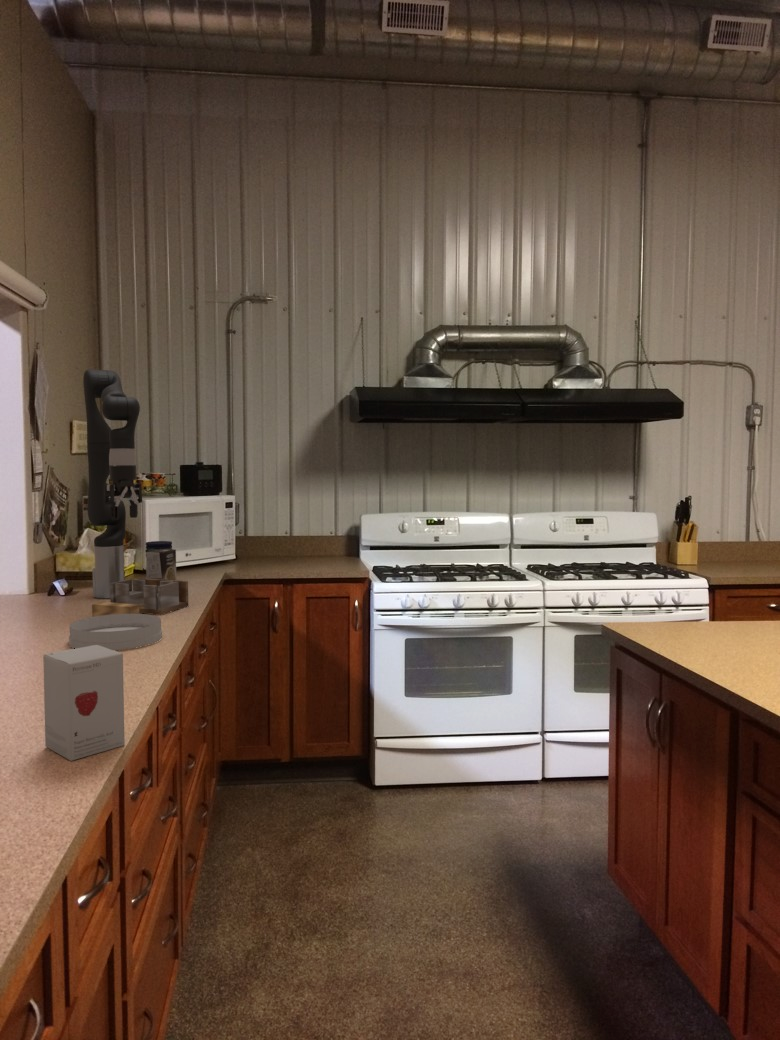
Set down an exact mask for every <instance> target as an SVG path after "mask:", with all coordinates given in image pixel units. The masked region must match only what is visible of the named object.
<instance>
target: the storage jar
mask: <svg viewBox="0 0 780 1040" xmlns="http://www.w3.org/2000/svg"><path fill="white" fill-rule="evenodd" d="M164 549H173V541H170V540H168V541H167V540H155V541H147V542H145V553H146V552H149V551H154V550H164Z"/></svg>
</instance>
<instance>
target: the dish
mask: <svg viewBox="0 0 780 1040" xmlns="http://www.w3.org/2000/svg"><path fill="white" fill-rule="evenodd" d="M161 638H162V639H163V630H162V619H161V617H159V616H157V615H155V614H142V613H139V614H111V615H102V616H95V617H92V616H90V617H84V618H81V619H77V620H75V621H73V622H71V623H70V624H69V636H68V640H69V641H68V645H70V646H71V647H73V648H72V649H74V648H82V647H87V646H93V645H99V646H102V647H105V648H108V649H111V650H119V651H124V650H123V649H128V650H131V649H130V648H135V649H137V648H136V647H140V646H145V645H148V644H152V643H155V642H157V641H159V640H160V639H161ZM162 639H161V640H162ZM161 640H160V641H161ZM160 641H159V642H160ZM157 643H158V642H157ZM155 644H156V643H155ZM152 645H153V644H152ZM70 646H69V647H70ZM148 646H149V645H148ZM145 647H146V646H145ZM140 648H141V647H140Z"/></svg>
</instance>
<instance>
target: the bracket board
mask: <svg viewBox="0 0 780 1040" xmlns="http://www.w3.org/2000/svg"><path fill="white" fill-rule="evenodd" d="M109 599H110V603H124V604H139V614H142V613H153V614H152V615H156V614H163V615H165V614H164V613H166V614H168V613H167V612H169V613H171V612H170V611H172V612H174V610H175V611H178V610H177V609H179V610H181V609H180V608H182V609H185V608H187V606H188V607H189V581H188V580H177V579H176V580H160V579H146V578H136V579H133V578H128V579H125V580H123V581H118V582H114V583H110V598H109ZM184 607H185V608H184Z"/></svg>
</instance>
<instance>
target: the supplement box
mask: <svg viewBox="0 0 780 1040" xmlns="http://www.w3.org/2000/svg"><path fill="white" fill-rule="evenodd" d="M42 657H43V695H44V696H43V697H44V699H43V700H44V704H43V706H44V743H45V744H44V746H45V747H46V749H47V748H48V749H49V750H51V751H53V752H54V753H56V754H58V755H60V756H61V757H63V758H65V759H67V760H69V761H70V762H73V761H76V760H79V759H82V758H86V757H90V756H92V755H96V754H100V753H103V752H106V751H110V750H113V749H117V748H121V747H123V746H125V743H126V742H125V740H126V739H125V707H124V706H125V700H124V699H125V697H124V695H125V693H124V692H125V691H124V688H125V687H124V654H123V652H120V651H114V650H111V649H108V648H105V647H102V646H99V645H93V646H87V647H82V648H75V649H74V648H70V649H65V650H60V651H54V652H48V653H44V654H43V656H42Z"/></svg>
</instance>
